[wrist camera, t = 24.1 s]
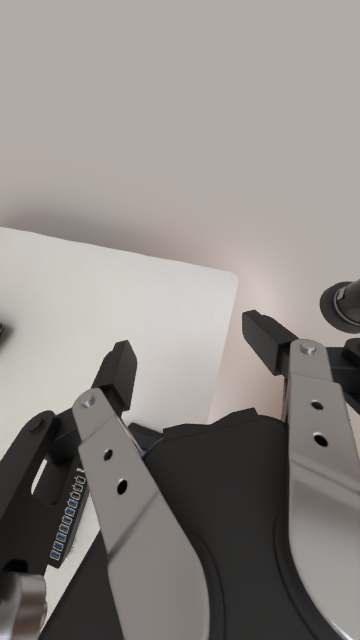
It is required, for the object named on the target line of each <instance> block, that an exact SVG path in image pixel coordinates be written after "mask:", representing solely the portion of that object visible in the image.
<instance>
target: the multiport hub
mask: <svg viewBox="0 0 360 640" xmlns="http://www.w3.org/2000/svg"><path fill="white" fill-rule="evenodd" d="M89 491H90V490H89V486H88V483H87V479H86V475H85V472H84V468H83V465H82V461H81V458H80V461H79V464H78V468H77V471H76V474H75V477H74V481H73V484H72V487H71V490H70V493H69V497H68V500H67V503H66V506H65V510H64V513H63V516H62V519H61V523H60V526H59V529H58V532H57V536H56V539H55V542H54V545H53V549H52V552H51V555H50V558H49V561H48V564H49V565H51V566H53V567H55V568H57V569H58V568H59V567H60V566H61V564H62V563H63V561H64V560H65V558H66V557H67V555H68V554H69V552H70V550H71V547H72V544H73V540H74V537H75V534H76V531H77V528H78V525H79V522H80V519H81V516H82V513H83V510H84V506H85V503H86V500H87V497H88V494H89Z"/></svg>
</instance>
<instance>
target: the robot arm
mask: <svg viewBox="0 0 360 640" xmlns="http://www.w3.org/2000/svg"><path fill="white" fill-rule="evenodd" d="M332 306H333V309H334V311H335V312H336V314H337V315H338V316H339V317H340V318H341V319H342V320H344V321H345V322H347V323H349V324H351V325H355V326H360V279H359V280H357V281H355V282H353V283H351V284H349V285H347V286H344V287H342V288H340V289H338V290H337V291H336V292H335V293H334V295H333V297H332ZM242 331H243V336H244V338H245V340H246V341H247V343H248V344H249V345H250V346H251V347H252V349H253V350H254V351H255V353H256V354H257V355H258V356H259V357H260V359H261V360H262V361H263V363H264V364H265V365H266V366H267V367H268V369H269V370H270V371H271V373H272V374H273V375H274V376H277V375H281V374H282V375H283V376H284V377H285V379H284V391H283V407H282V416H281V420H278V419H276V418H273V417H269V416H264V415H258V414H257V412H256V410H255V408H250V409H245V410H241V411H237V412H233V413H230V414H229V415H227V416H225V417H223V418H222V419H220V420H218V421H216V422H214V423H213V424H210V425H203V424H182V425H177V426H173V427H169V428H165V429H163V437H162V438H161V439H159V440H158V441H157V442H155V443H154V444H153V445H152V446H151V447H150V448H149V449H148V450H147V451H146V453H145V454H144V453H143V451H142V450H141V448H140V447H139V445H138V444H137V442H136V441H135V439H134V437H133V436H132V434H131V433H130V431H129V429H128V428H127V426H126V425H125V423H124V421H123V420H122V418H121V415H122V412H123V411H127V410H130V405H131V399H132V393H133V387H134V381H135V375H136V370H137V358H136V356H135V353H134V351H133V349H132V347H131V345H130V343H129V341H128V340H125V341H121V342H117V343H115V346H114V348H113V351H111V352H109V353H108V354H107V355H106V356H105V358H104V360H103V362H102V365H101V366H100V369H99V371H98V373H97V375H96V378H95V380H94V382H93V384H92V387H91V389H89V390H87V391H86V392H84V393H83V394H81V395H80V396H79V397H78V398H77V400H76V401H75V403H74V404H73V407H72V408H70V409H68V410H66V411H64V412H62V413H60V414H58V415H56V414H55V413H54V412H53V411H50V410H47V411H44V412H41V413H39V414H38V415H36V416H35V417H33V418H32V419H31V420H30V421H28V422H27V423H26V424H25V426H24V427H23V428H22V429H21V431H20V432H19V434H18V435H17V437H16V438H15V440H14V441H13V443H12V444H11V446H10V448H9V449H8V451H7V452H6V454H5V455H4V457H3V458H2V460H1V461H0V640H360V460H359V456H358V452H357V448H356V444H355V439H354V436H353V432H352V428H351V423H350V419H349V416H348V411H347V407H346V403H345V401H346V402H347V403H348V404H349V405H350V406H351V407H352V408H353V409H354V410H355V411H356V412H357V413H358V414H359V415H360V338H352V339H349V340H347V341H346V343H345V345H344V347H324V346H323V345H322V344H320V343H318V342H316V341H313V340H309V339H299V338H298V337H297V336H296V335H294V334H293V333H291V332H290V331H289V330H288V329H286V328H285V327H283V326H282V325H281V324H279V323H278V322H277V321H276V320H274V319H273V318H271V317H269V316H266V315H261V314H260V313H258V312H257V311H256V310H251V311H247V312H243V313H242ZM80 458H81V461H82V465H83V468H84V472H85V475H86V479H87V483H88V486H89V490H90V493H91V497H92V500H93V504H94V507H95V511H96V514H97V518H98V521H99V525H100V531H99V533H98V534H97V536H96V538H95V540H94V541H93V543H92V545H91V547H90V548H89V550H88V552H87V553H86V555H85V557H84V559H83V560H82V562H81V564H80V566H79V567H78V569H77V571H76V573H75V574H74V576H73V578H72V580H71V581H70V583H69V585H68V586H67V588H66V590H65V592H64V593H63V595H62V597H61V599H60V600H59V602H58V604H57V606H56V607H55V609H54V611H53V613H52V614H51V616H50V618H49V620H48V621H47V623H46V625H45V626H44V628H43V630H42V632H41V634H40V630H41V628H42V626H43V624H44V621H45V618H46V615H47V602H46V601H45V599H46V583H45V579H44V574H45V571H46V568H47V565H48V561H49V558H50V555H51V552H52V549H53V545H54V542H55V539H56V536H57V532H58V529H59V526H60V523H61V519H62V516H63V513H64V510H65V506H66V503H67V500H68V497H69V493H70V490H71V487H72V484H73V481H74V477H75V474H76V471H77V468H78V464H79V461H80ZM43 459H45V460H47V463H46V466H45V468H44V470H43V472H42V475H41V477H40V479H39V481H38V483H37V486H36V488H35V490H34V492H33V495H32V494H31V487H32V483H33V481H34V479H35V476H36V474H37V472H38V470H39V468H40V466H41V464H42V462H43Z"/></svg>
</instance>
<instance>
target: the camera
mask: <svg viewBox="0 0 360 640" xmlns="http://www.w3.org/2000/svg"><path fill="white" fill-rule="evenodd" d="M4 328H5V327H4V326H3V325H1V324H0V336H1V334H2V332H3V330H4Z"/></svg>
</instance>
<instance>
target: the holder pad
mask: <svg viewBox="0 0 360 640" xmlns="http://www.w3.org/2000/svg"><path fill="white" fill-rule="evenodd" d="M127 428H128V429H129V431H130V433H131V434H132V436H133V437H134V439H135V441H136V442H137V444H138V445H139V446H140V447H143V448H145V449H149V448H150V447H151V446H152V445H153V444H154V443H155V442H157V441H158V440H159V439H161V438H162V437H163V434H161V433H159V432H156V431H153V430H151V429H148V428H145V427H143V426H140V425H137V424H135V423H131V424H130V425H129V426H128V427H127Z"/></svg>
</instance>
